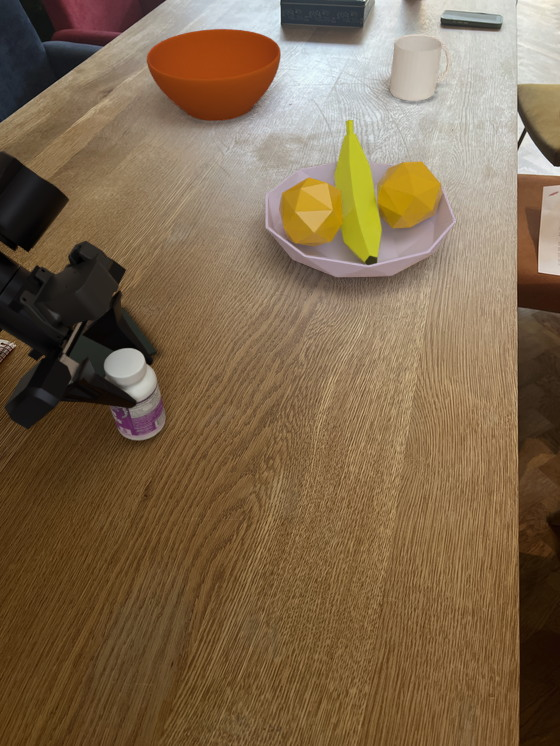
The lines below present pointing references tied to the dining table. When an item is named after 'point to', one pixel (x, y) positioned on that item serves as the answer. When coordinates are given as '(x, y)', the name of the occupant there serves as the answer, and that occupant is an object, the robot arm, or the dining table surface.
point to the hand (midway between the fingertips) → (143, 384)
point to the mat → (104, 348)
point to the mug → (417, 66)
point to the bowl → (215, 71)
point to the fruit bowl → (359, 214)
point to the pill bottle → (135, 394)
